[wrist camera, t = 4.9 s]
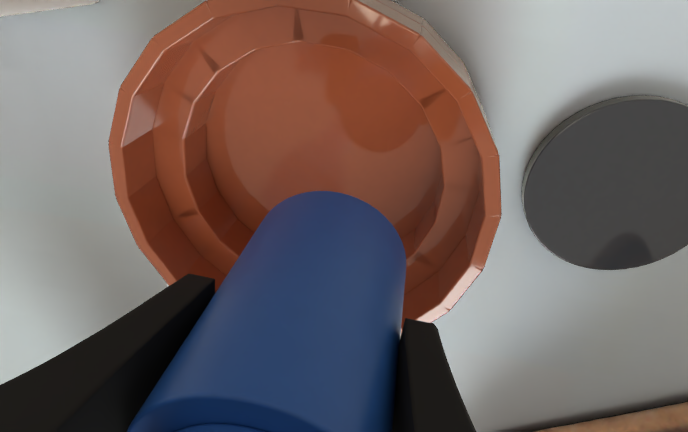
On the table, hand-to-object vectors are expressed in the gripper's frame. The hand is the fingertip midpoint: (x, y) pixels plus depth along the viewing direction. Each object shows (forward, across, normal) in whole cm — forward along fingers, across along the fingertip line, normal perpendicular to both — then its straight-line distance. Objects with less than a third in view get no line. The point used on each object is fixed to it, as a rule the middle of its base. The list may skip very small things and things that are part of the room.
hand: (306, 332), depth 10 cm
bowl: (+10, +2, 0) cm, 10 cm away
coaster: (+10, -10, -1) cm, 14 cm away
